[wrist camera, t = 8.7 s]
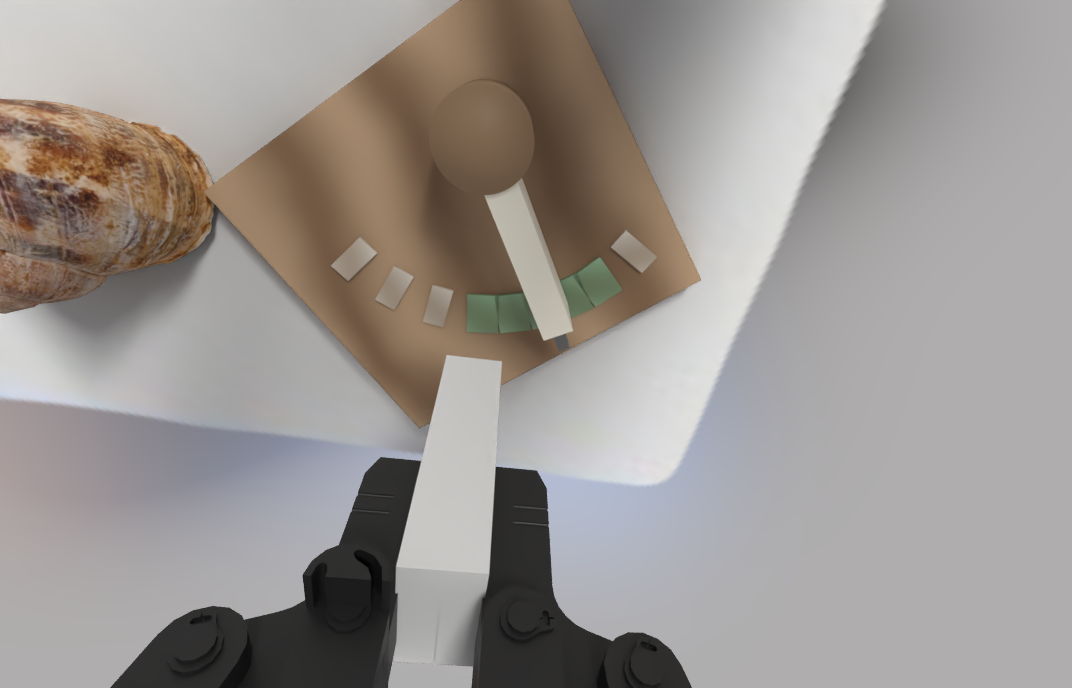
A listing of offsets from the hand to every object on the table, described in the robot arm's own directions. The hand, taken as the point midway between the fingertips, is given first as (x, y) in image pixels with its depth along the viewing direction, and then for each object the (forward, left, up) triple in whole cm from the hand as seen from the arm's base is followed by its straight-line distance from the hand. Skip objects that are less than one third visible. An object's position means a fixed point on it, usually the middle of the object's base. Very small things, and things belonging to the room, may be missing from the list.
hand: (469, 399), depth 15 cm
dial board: (+1, -1, -17) cm, 17 cm away
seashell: (+17, -12, -17) cm, 27 cm away
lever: (-2, 0, -15) cm, 15 cm away
